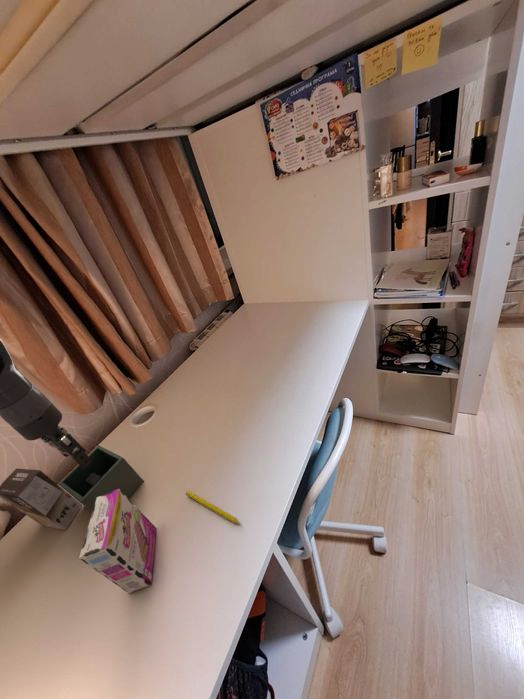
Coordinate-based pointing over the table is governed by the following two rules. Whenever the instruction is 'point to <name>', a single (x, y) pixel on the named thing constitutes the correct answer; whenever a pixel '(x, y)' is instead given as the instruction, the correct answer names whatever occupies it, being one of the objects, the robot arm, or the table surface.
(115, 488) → the box
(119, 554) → the candy bar box
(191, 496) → the pencil
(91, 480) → the ink cartridge
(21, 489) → the coffee box
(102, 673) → the table surface
